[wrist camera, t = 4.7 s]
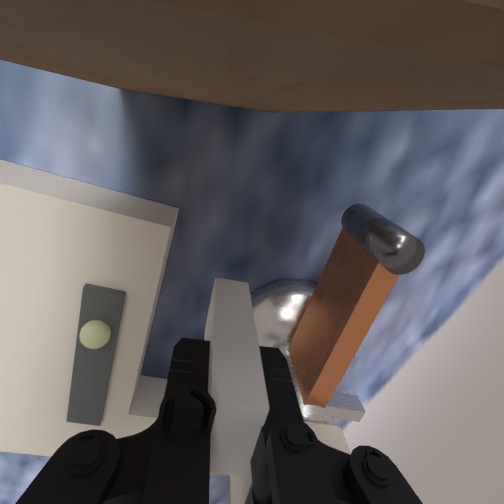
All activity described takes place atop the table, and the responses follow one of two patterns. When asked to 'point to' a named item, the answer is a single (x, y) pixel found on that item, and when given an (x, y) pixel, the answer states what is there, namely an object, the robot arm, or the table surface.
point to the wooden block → (271, 50)
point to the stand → (82, 313)
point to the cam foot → (335, 310)
